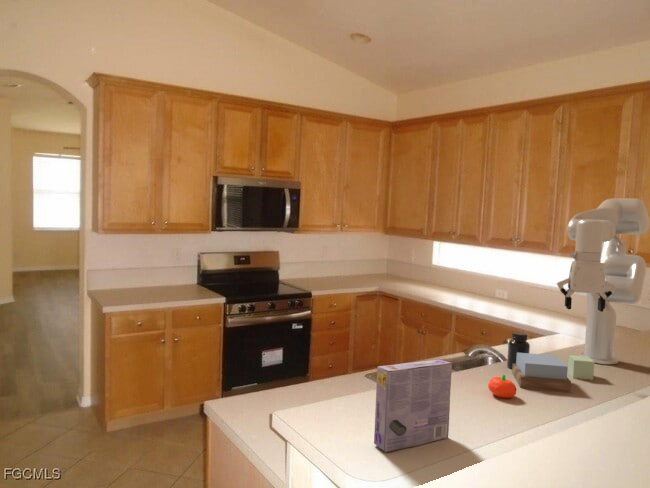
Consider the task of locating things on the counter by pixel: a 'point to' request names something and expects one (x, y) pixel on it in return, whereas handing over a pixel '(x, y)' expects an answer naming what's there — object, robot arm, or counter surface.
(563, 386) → the walnut base block
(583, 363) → the sage block
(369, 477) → the counter surface
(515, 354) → the supplement bottle
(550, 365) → the slate top block
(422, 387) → the cake pan box
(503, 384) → the pumpkin
